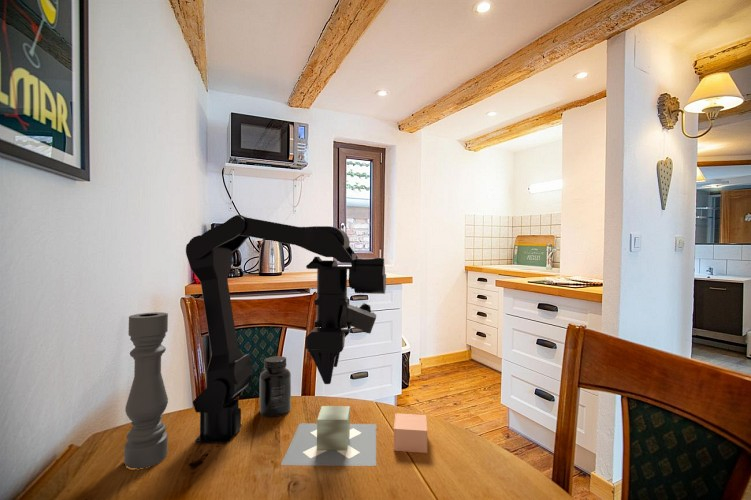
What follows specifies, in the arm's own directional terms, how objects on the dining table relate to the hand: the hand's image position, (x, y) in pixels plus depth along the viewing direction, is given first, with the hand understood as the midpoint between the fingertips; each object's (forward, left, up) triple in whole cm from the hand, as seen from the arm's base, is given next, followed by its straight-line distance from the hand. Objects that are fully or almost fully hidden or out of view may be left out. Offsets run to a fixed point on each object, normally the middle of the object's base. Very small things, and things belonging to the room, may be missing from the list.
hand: (331, 374), depth 64 cm
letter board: (+1, -1, -13) cm, 13 cm away
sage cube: (+1, -1, -12) cm, 12 cm away
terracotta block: (+15, 0, -13) cm, 20 cm away
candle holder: (-31, -6, -13) cm, 34 cm away
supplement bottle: (-14, +12, -13) cm, 23 cm away
